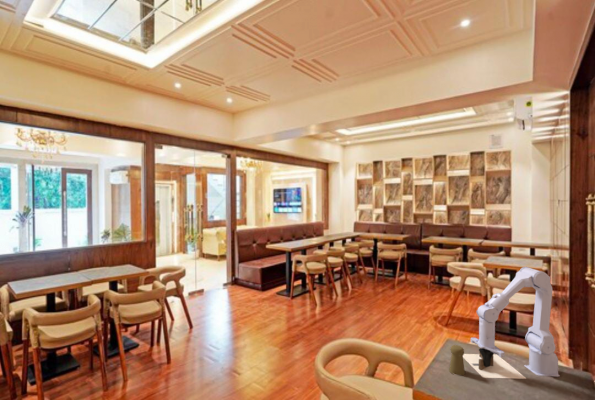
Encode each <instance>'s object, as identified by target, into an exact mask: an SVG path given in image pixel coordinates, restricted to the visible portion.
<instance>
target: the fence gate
mask: <svg viewBox="0 0 595 400" xmlns="http://www.w3.org/2000/svg"><path fill="white" fill-rule="evenodd" d="M484 368H486V367H485V366H484V364H483V358H482V359H479V369H480V370H482V369H484Z"/></svg>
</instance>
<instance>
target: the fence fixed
mask: <svg viewBox="0 0 595 400" xmlns="http://www.w3.org/2000/svg"><path fill="white" fill-rule="evenodd" d="M479 349H481V348H480V347H478V352H479V353H478V354H479V356H480V357H482V355H481V353H480V351H479ZM482 358H483V357H482ZM490 366H493V356H492V357H491V360H490Z"/></svg>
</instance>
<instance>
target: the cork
mask: <svg viewBox="0 0 595 400" xmlns="http://www.w3.org/2000/svg"><path fill="white" fill-rule="evenodd" d="M450 353H451V357H450V364H449V369H448V372H449V373H450V374H452V375H457V376H464V375H465V373H466V370H465V362H464V358H463V355H464V354H465V349H464V348H463V347H462V346H461V345H458V344H457V345H456V344H453V345H451V346H450Z"/></svg>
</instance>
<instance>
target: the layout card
mask: <svg viewBox="0 0 595 400" xmlns="http://www.w3.org/2000/svg"><path fill="white" fill-rule="evenodd" d="M479 359H482V357H480V356H479V353H477V354H476V353H464V355H463V360H465V361H466V362H467V363H468V364H469V365H470V366H471V368H473V369H474V370H475V371H476V372H477V373H478V374H479V375H480V376H481V377H482V378H484V379H519V380H521V379H522V380H523V379H525V380H526V379H527V378H526V376H524V375H523V374H522V373H520V371H518V370H517V369H516V368H515V367H513V366H512V365H511V364H510V363H508V362H507V361H506V360H505V359H503V357H499V355H497V354H493V366H489V367H486V368H484V369H482V370H480V369H479Z"/></svg>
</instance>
